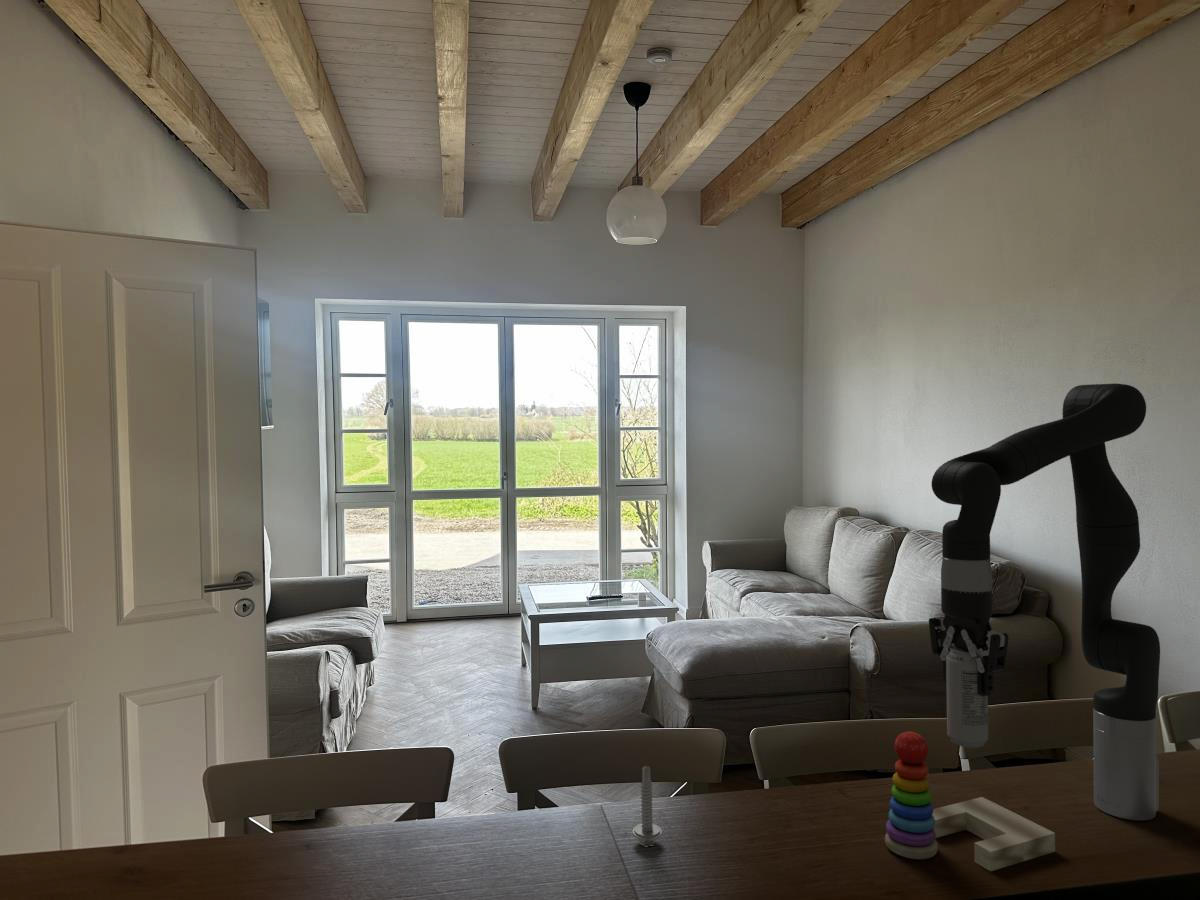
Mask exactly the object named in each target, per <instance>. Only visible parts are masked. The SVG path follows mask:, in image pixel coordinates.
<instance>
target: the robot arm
mask: <svg viewBox="0 0 1200 900" xmlns="http://www.w3.org/2000/svg"><path fill="white" fill-rule="evenodd" d="M1146 413H1147V402H1146V399H1145V397H1144V395H1143V393H1142V392H1141V391H1140V390H1139V389H1138V388H1136V387H1134V386H1133V385H1130V384H1125V383H1100V384H1099V383H1096V384H1095V383H1094V384H1080V385H1076V386H1074V387H1072V388H1071V389H1070V390H1069V391H1068V392H1067V393H1066V395H1065V397H1064V400H1063V404H1062V418H1060V419H1058V420H1053V421H1050V422H1046V423H1043V424H1039V425H1035V426H1032V427H1029V428H1026V429H1024V430H1020V431H1018V432H1016V433H1013V434H1011V435H1009V436H1007V437H1005V438H1004V439H1001V440H1000V441H998V442H995V443H994V444H992V445H990V446H989V447H985V448H982V449H979V450H976V451H973V452H969V453H967V454H963V455H959V456H958V457H957V456H956V457H955V458H951V459H950V460H947V461H946V462H944V463H943V464H941V465H940V466H939V467H938V468H937V469H936V470H935V471H934V473H933V476H932V478H931V489H932V492H933V494H934V496H935V497H936V498H937V499H938V500H940V501H941V502H943V503H946V504H948V505H956V506H960V510H959V513H958V517H957V519H952V520H949V521H947V522H945V524H944V525H943V527H942V535H941V537H942V540H941V543H942V546H941V547H942V549H941V550H942V551H941V552H942V554H941V555H942V557H941V558H942V562H941V567H940V568H941V569H940V590H941V591H940V592H941V594H940V599H941V601H940V603H941V606H940V609H941V610H940V611H941V612H942V614H944V617H943V616H936V617H931V618H929V619H928V627H929V637H930V644H931V651H932V653H933V654H934V655H938V656H939V657H940V659H941V660H942V677H943V679H944V683H945V684H946V685H947V679H946V657H947V656H948V654H949V653H950V648H951V647H952V646H953V647H963V648H964V649H966V650H969V653H970V656H971V657H972V658H973V659H974V660H975V662H976V665H977V668H978V670H979V672H977V675H978V695H981V696H990V695H991V694H992V693H993V692H994V673H995V672H998V671H1004V670H1005V669H1006V665H1007V655H1008V646H1009V635H1008V634H1007V632H1000V633H999V632H997V631H995V630H993V629H992V627H991V623H990V620H991V617H992V616H993V613H994V612H993V607H994V606H993V571H992V570H993V569H992V565H991V564H992V563H991V531H992V528H993V525H994V522H995V517H996V514H997V509H998V506H999V503H1000V498H1001V494H1002V486H1008V485H1012V484H1015V483H1017V482H1020V481H1021V480H1024V479H1025V478H1027V477H1029V476H1030V475H1033V474H1034V473H1036V472H1038V471H1040V470H1042V469H1044V468H1045V467H1047V466H1049V465H1051V464H1053V463H1056V462H1058V461H1060V460H1062V459H1064V458H1067V457H1069V460H1070V466H1071V472H1072V482H1073V489H1074V491H1073V492H1074V500H1075V516H1076V517H1075V520H1076V532H1077V533H1076V534H1077V543H1078V551H1079V552H1078V553H1079V561H1080V562H1079V563H1080V574H1081V575H1080V576H1081V636H1080V637H1081V647H1082V653H1083V656H1084V659H1085V661H1086V663H1087V664H1088V665H1089V666H1091V667H1093V668H1096V669H1099V670H1103V671H1105V672H1110V673H1115V674H1116V673H1117V674H1120V675H1125V676H1126V679H1125V684H1124V685H1123V686H1119V687H1106V688H1102V689H1098V690H1096V691H1095V692H1094V693H1093V698H1092V702H1093V704H1092V707H1093V708H1092V709H1093V710H1092V712H1093V713H1092V718H1093V719H1092V721H1093V723H1092V724H1093V727H1092V728H1093V732H1092V734H1093V739H1092V740H1093V804H1094V806H1095V807H1096V808H1097V809H1099V810H1100V811H1102V812H1104V813H1106V814H1108V815H1111V816H1113V817H1116V818H1120V819H1123V820H1125V819H1126V820H1130V821H1149V820H1153V819H1154V818H1156V816H1157V812H1159V811H1160V803H1159V802H1160V798H1159V797H1160V796H1159V795H1160V793H1159V792H1160V791H1159V789H1160V787H1159V786H1160V785H1159V783H1160V782H1159V779H1160V776H1159V773H1160V771H1159V767H1160V766H1159V763H1160V761H1159V760H1160V759H1159V757H1158V756H1157V746H1156V745H1157V734H1156V733H1157V732H1156V731H1157V728H1156V727H1157V725H1156V721H1157V717H1156V716H1157V704H1158V697H1159V679H1160V678H1159V677H1160V662H1161V644H1160V642H1161V641H1160V638H1159V635H1158V633H1157V631H1156V629H1154V628H1153V627H1152V626H1150V625H1148V624H1143V623H1138V622H1133V621H1132V622H1131V621H1126V620H1120V619H1115V618H1113V615H1112V601H1113V600H1112V599H1113V595H1114V592H1115V590H1116V588H1117V586H1118V585H1119V583H1121V580H1122V579H1123V577H1124V576H1125V575H1126V573H1127V572H1128V571H1129V570H1130V569H1131V568H1130V567H1132V565H1133V564H1134V562H1135V561H1136V559H1137V557H1138V555H1139V552H1140V550H1141V534H1140V532H1141V531H1140V523H1139V520H1140V519H1139V515H1138V514H1139V513H1138V509H1137V507H1136V505H1135V503H1134V501H1133V499H1132V498H1131V496H1130V495H1129V493H1128V491H1127V490H1126V489H1125V486H1123V484H1122V482H1121V481H1120V479H1119V478H1118V477H1117V475H1116V474H1115V472H1114V471H1113V469H1112V468H1113V467H1111V464H1110V462H1109V458H1108V455H1107V454H1108V453H1107V448H1106V443H1107V442H1111V441H1114V440H1117V439H1121V438H1124V437H1127V436H1130V435H1131V434H1133V433H1135V432H1136V431H1137V430H1138V429H1140V427H1141V426H1142V425H1143V424H1144V421H1145V418H1146V415H1147V414H1146ZM979 649H982V650H983V651H982V652H979V651H978V650H979ZM982 657H983V658H984V661H985V663H986V664H984V661H983V658H982Z"/></svg>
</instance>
